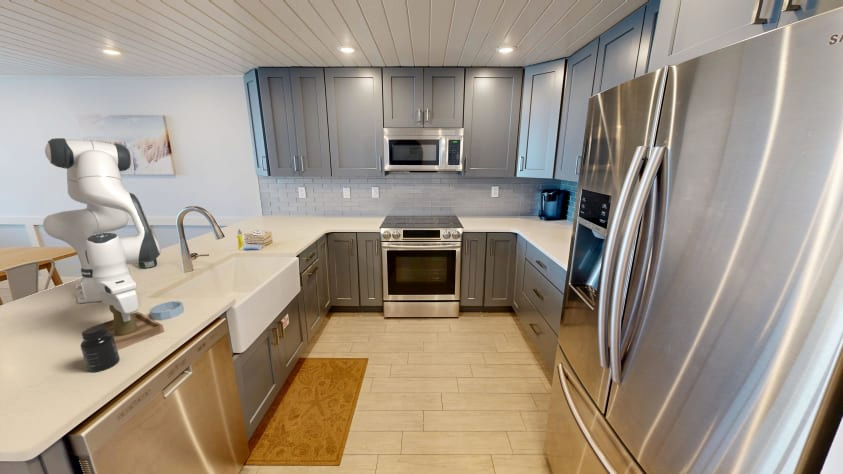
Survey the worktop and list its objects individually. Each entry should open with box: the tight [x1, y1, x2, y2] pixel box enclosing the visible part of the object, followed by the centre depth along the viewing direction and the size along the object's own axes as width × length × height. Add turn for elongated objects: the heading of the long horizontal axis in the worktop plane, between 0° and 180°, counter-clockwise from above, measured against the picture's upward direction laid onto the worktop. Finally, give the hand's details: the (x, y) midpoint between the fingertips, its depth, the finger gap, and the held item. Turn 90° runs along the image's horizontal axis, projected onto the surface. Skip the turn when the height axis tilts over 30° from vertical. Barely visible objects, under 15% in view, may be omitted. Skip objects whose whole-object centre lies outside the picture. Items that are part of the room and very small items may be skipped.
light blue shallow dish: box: [149, 300, 185, 321], centre depth 122 cm, size 10×10×3 cm
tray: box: [86, 311, 165, 351], centre depth 108 cm, size 20×14×3 cm
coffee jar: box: [135, 234, 158, 270], centre depth 172 cm, size 10×8×19 cm
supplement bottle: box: [79, 325, 121, 373], centre depth 90 cm, size 7×7×12 cm
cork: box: [109, 305, 138, 336], centre depth 107 cm, size 6×6×11 cm
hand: (123, 318), depth 107 cm, fingers closed on cork, 4 cm apart
